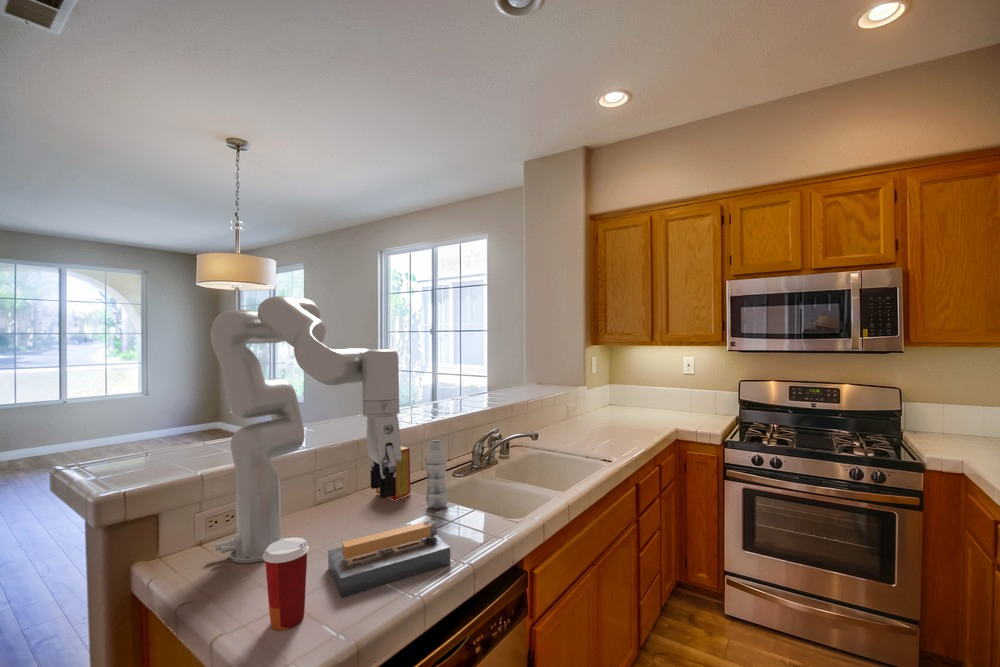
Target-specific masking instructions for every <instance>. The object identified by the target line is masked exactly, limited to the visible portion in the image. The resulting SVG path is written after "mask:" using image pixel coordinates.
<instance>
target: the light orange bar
mask: <svg viewBox="0 0 1000 667" xmlns="http://www.w3.org/2000/svg"><path fill="white" fill-rule="evenodd" d="M437 531H438V523H437V521H436V520H426V521H423V522H419V523H415V524H411V525H407V526H402V527H398V528H394V529H390V530H386V531H381V532H377V533H373V534H370V535H366V536H361V537H358V538H354V539H349V540H345V541H342V542H341V547H342V554H343V556H344V558H345V559H348V558H352V557H356V556H359V555H363V554H367V553H371V552H374V551H378V550H382V549H386V548H390V547H393V546H397V545H401V544H405V543H408V542H412V541H416V540H420V539H424V538H427V537H432V536H435V535H436V534H437V535H438V532H437Z"/></svg>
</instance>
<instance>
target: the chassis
mask: <svg viewBox="0 0 1000 667" xmlns="http://www.w3.org/2000/svg"><path fill="white" fill-rule="evenodd" d="M327 563H328V564H327V565H328V566H327V567H328V570H329V573H330V575H331V577H332V580H333V582H334V584H335V587H336V589H337V591H338V594H339V596H340V599H344V598H346V597H347V598H348V597H351V596H353V595H357V594H359V593H363V592H366V591H371V590H373V589H377V588H380V587H383V586H386V585H390V584H393V583H396V582H400V581H402V580H403V581H404V580H405V579H409V578H412V577H416V576H418V575H421V574H422V575H423V574H425V573H428V572H429V573H430V572H432V571H434V570H438V569H441V568H444V567H447V566H451V547H450V545H448V544H447V543H446V542H445V541H444V540H443V539H442V538H441V537H440V536H439V535H438V533H437V534H436V535H435V536H432V537H427V538H424V539H420V540H416V541H412V542H408V543H405V544H401V545H397V546H393V547H390V548H386V549H382V550H378V551H374V552H371V553H367V554H363V555H359V556H356V557H352V558H348V559H345V558H344V556H343V554H342V546H341V547H337V548H332V549H329V550H328V551H327ZM389 583H390V584H389ZM382 585H383V586H382ZM379 586H380V587H379ZM376 587H377V588H376Z"/></svg>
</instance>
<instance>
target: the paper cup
mask: <svg viewBox="0 0 1000 667" xmlns="http://www.w3.org/2000/svg"><path fill="white" fill-rule="evenodd" d="M285 538H286V537H285ZM307 543H308V542H307V541H306V539H304V538H301V537H287V538H286V539H282V540H279V541H276V542H274V543H272V544H271V545H269V546H268V547H267V549H266V550H265V553H264V554H263V559H264V562H265V574H266V575H265V576H266V584H267V585H266V586H267V596H268V597H267V598H268V600H267V601H268V609H269V620H270V622H269V623H270V627H271V629H272V630H275V631H280V632H281V631H287V630H291V629H293V628H295V627H297V626H298V625H300V624H301V623H302V622H303V620H304V619H305V606H306V587H307V586H306V584H307V568H308V566H307V564H308V562H307V561H308V552H309V550H310V546H309V545H308V544H307Z"/></svg>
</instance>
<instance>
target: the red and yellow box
mask: <svg viewBox="0 0 1000 667" xmlns="http://www.w3.org/2000/svg"><path fill="white" fill-rule="evenodd" d="M410 453H411V452H410V447H406V446H402V445H401V461H400V462H397V461H396V470H395V473H396V477H395V480H396V495H395V496H391V497H388V498H390V499H393V500H396V499H399V498H401V497H404V496H406V495H408V494H409V493H410V494H411V460H410V459H411V454H410ZM385 462H388V460H385ZM386 467H388V466H384V468H386ZM375 489H376V490H375V494H376V493H378V494H380V488H375ZM399 500H400V499H399Z"/></svg>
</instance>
